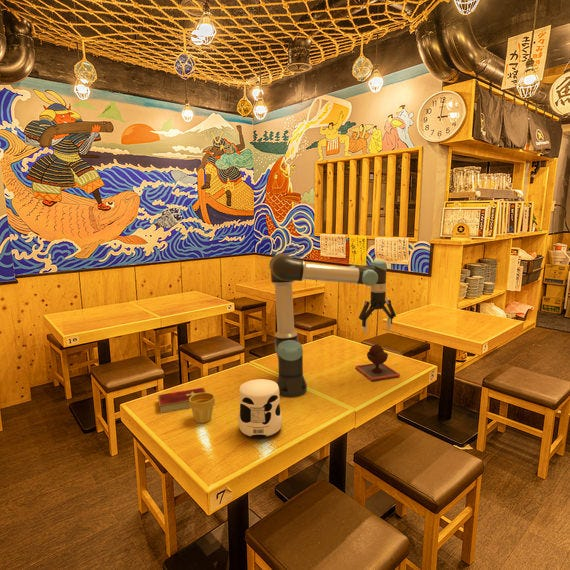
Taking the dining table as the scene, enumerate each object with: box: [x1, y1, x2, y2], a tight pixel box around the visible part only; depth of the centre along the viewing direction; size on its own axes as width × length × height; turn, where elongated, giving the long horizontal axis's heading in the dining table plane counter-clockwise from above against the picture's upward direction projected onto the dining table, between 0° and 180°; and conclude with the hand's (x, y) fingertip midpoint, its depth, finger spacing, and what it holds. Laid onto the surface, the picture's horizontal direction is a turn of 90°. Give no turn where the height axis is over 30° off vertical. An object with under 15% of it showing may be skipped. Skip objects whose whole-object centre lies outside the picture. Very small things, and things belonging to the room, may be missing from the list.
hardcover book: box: [157, 387, 207, 413], centre depth 180 cm, size 12×21×4 cm, turn 110°
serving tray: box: [355, 362, 401, 383], centre depth 209 cm, size 16×18×2 cm
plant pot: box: [189, 391, 216, 424], centre depth 165 cm, size 10×10×10 cm
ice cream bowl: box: [366, 343, 389, 373], centre depth 207 cm, size 11×11×15 cm
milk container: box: [237, 378, 283, 439], centre depth 155 cm, size 17×17×18 cm
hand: (377, 331), depth 205 cm, fingers open, 13 cm apart
